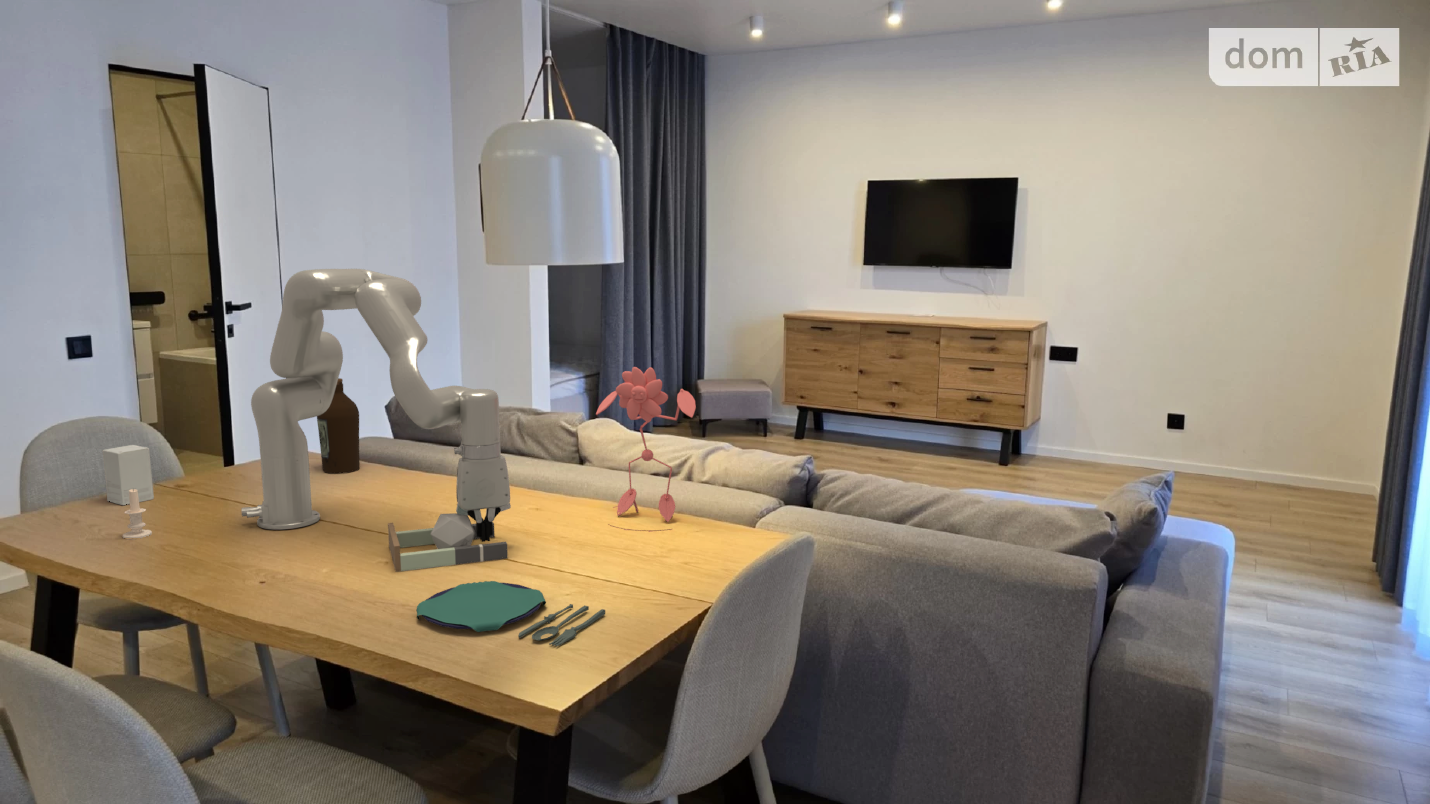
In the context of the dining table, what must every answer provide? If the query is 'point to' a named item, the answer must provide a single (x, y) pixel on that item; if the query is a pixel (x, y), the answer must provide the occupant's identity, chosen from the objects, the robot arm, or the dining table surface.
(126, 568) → the dining table surface
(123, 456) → the supplement box
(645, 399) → the figurine
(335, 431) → the olive oil
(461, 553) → the trap lane
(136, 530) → the candle
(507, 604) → the cutlery set
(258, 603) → the dining table surface
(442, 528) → the die
